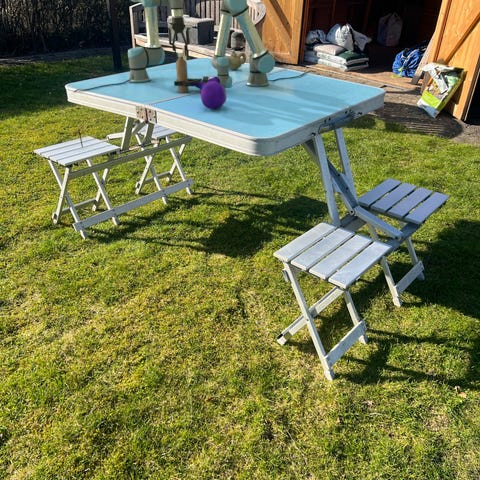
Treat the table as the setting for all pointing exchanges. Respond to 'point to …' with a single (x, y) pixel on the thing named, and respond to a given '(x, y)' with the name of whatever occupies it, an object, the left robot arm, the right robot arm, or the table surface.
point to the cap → (180, 54)
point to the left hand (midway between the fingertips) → (180, 56)
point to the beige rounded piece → (236, 60)
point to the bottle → (182, 74)
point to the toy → (211, 93)
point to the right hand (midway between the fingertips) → (175, 82)
